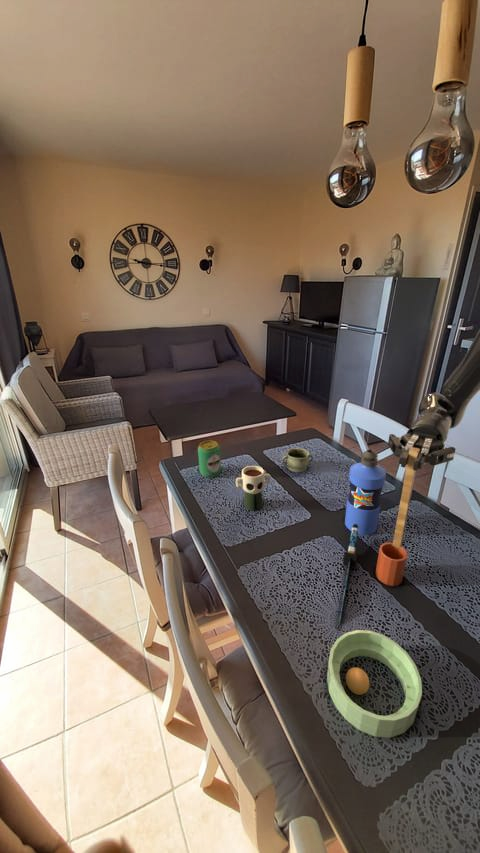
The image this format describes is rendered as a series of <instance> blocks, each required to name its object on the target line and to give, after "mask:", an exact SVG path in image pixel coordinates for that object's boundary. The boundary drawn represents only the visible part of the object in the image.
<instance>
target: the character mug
mask: <svg viewBox="0 0 480 853" xmlns="http://www.w3.org/2000/svg"><path fill="white" fill-rule="evenodd" d="M265 478H266V480H265ZM270 481H271V475H270V474H269V473H265V469H263V467H261V466H260V465H259V466H258V465H248V466H245V467H243V468H242V470H241V476H240V477H236V479H235V486H236V487H237V488H242V490H243V491H244V497H243V505H244V507H245V508H246V509H247V510H249V511H255V508H256V510H260V509H261V508H263V507H264V499H263V492H262V491H263V490H264V489H265V484H270ZM240 482H241V483H240Z"/></svg>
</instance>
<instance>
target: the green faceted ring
mask: <svg viewBox="0 0 480 853" xmlns="http://www.w3.org/2000/svg"><path fill="white" fill-rule="evenodd" d="M356 657H368V658H371V659H374V660H377V661H379V662H380V663H381V664H384V665H385V666H386V667H388V668H389V669H390V670H391V671H392V673H393V674H394V675H395V677H396V678H397V679H398V681H399V682H400V685H401V688H402V690H403V695H404V696H403V697H404V698H403V699H404V701H403V705H402V707H400V708H399V709H398V710H397V711H396V712H394V713H391V714H389V715H380V714H376V713H373V712H371V711H369V710H365V709H363V708H362V707H361V706H360V705H358V704H357V703H355V702H354V701H353V700H352V699H351V697H350V696H348V694H347V693H346V690H345V689H344V686H343V685H342V681H341V675H340V671H341V669H342V668H343V666H344V664H345V663H347V662H348V661H349V660H350V659H354V658H356ZM326 681H327V688H328V692H329V695H330V697H331V699H332V702H333V704H334V706H335V708H336V709H337V710H338V712H339V713H340V714H341V715H342V717H343V718H344V719H345V720H346V721H347V722H348V723H350V724H351V725H352V726H353V727H354V728H356V729H357V730H358V731H361V732H363V733H365V734H368V735H370V736H373V737H376V738H394V737H397V736H399V735H402V734H405V733H406V732H407V731H408V730H409V729H410V727H412V725H413V724H414V722H415V719H416V716H417V714H418V710H419V707H420V703H421V700H422V697H423V686H422V685H423V684H422V682H423V681H422V677H421V675H420V672H419V669H418V667H417V665H416V663H415V662H414V660H413V659H412V658H411V656H410V654H409V653H408V652H407V651H406V650H405V649H404V648H403V647H401V645H399V644H398V642H396V641H394V640H392V639H391V638H389V637H388V636H386V635H384V634H382V633H378V632H375V631H373V630H367V629H365V630H362V629H356V630H352V631H349V632H345V633H343V635H341V636H340V637H338V638H337V639H335V642H334V643H333V645H332V646H331V648H330V651H329V657H328V664H327V673H326Z"/></svg>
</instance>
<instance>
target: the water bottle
mask: <svg viewBox="0 0 480 853" xmlns="http://www.w3.org/2000/svg"><path fill="white" fill-rule="evenodd" d="M378 457H379V456H378V454H377V453H376V452H375V450H374V449H366V450H365V451H364V452H362V455H361V457H360V458H361V459H360V462H356V463H354V464H352V465H350V469H349V476H348V479H349V480H348V481H349V493H348V496H347V499H346V506H345V507H346V508H345V517H344V526H345V527H346V528H347V529H348V530H349V531H350V532H352V531H351V530H352V527H353V525H354V524H357V525H358V535H362V536H368V535H372V534H374V533H376V531H377V530H378V523H379V517H380V510H381V495H382V491H383V489H384V486H385V482H386V477H387V472H386V469H384V467H382V466H381V465H378V461H379V459H378Z"/></svg>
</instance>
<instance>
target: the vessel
mask: <svg viewBox="0 0 480 853" xmlns="http://www.w3.org/2000/svg"><path fill="white" fill-rule="evenodd" d="M309 458H311V459H309ZM313 460H314V456H313V455H312V454H311V453H310V452H309V450H307V449H305V448H301V447H292V448H289V449H288V450H287V451H286V455H283V456H282V457H281V462H282V463H283V467H287V469H288V470H289V471H291V472H294V473H301V472H302V473H303V472H305V471H306V470H307V468H308V466H310V465H311V464H312V462H313Z"/></svg>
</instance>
